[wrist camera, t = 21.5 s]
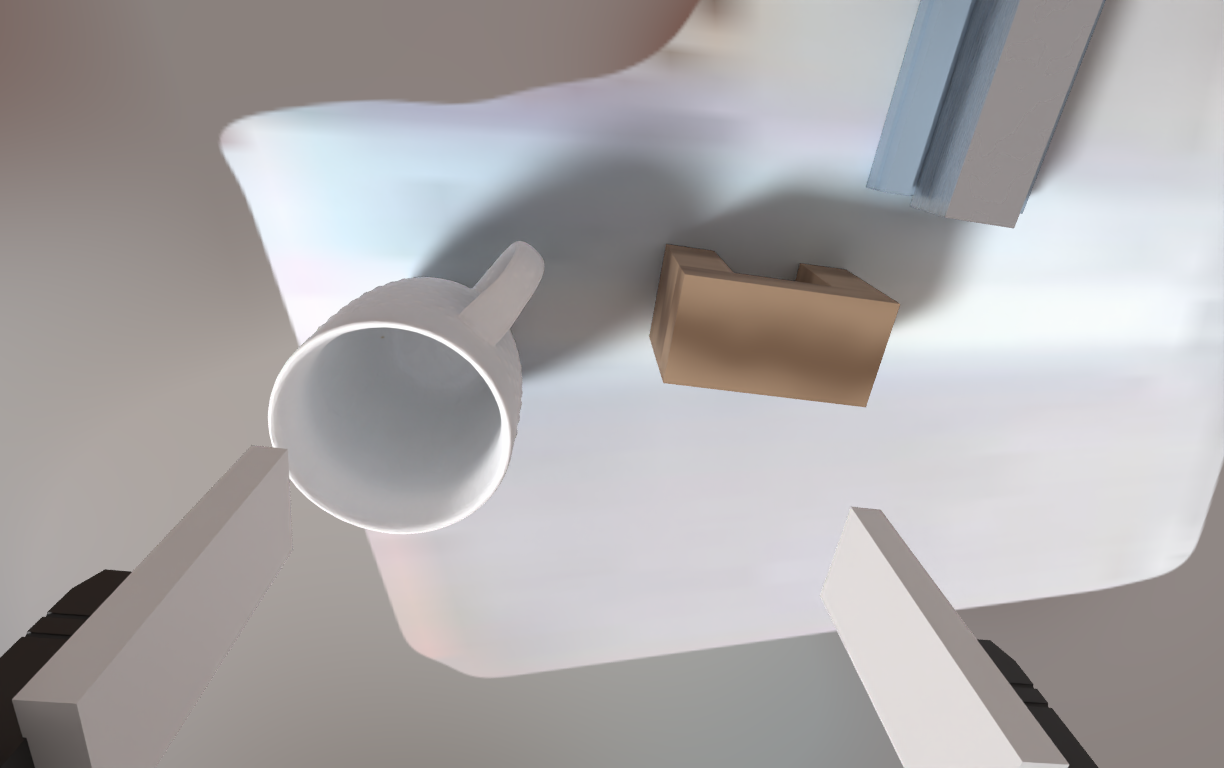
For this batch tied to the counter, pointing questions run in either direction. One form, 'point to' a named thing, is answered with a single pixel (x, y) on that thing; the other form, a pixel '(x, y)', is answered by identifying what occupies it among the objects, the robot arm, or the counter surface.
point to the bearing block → (769, 329)
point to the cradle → (927, 95)
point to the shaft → (1002, 107)
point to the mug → (408, 399)
